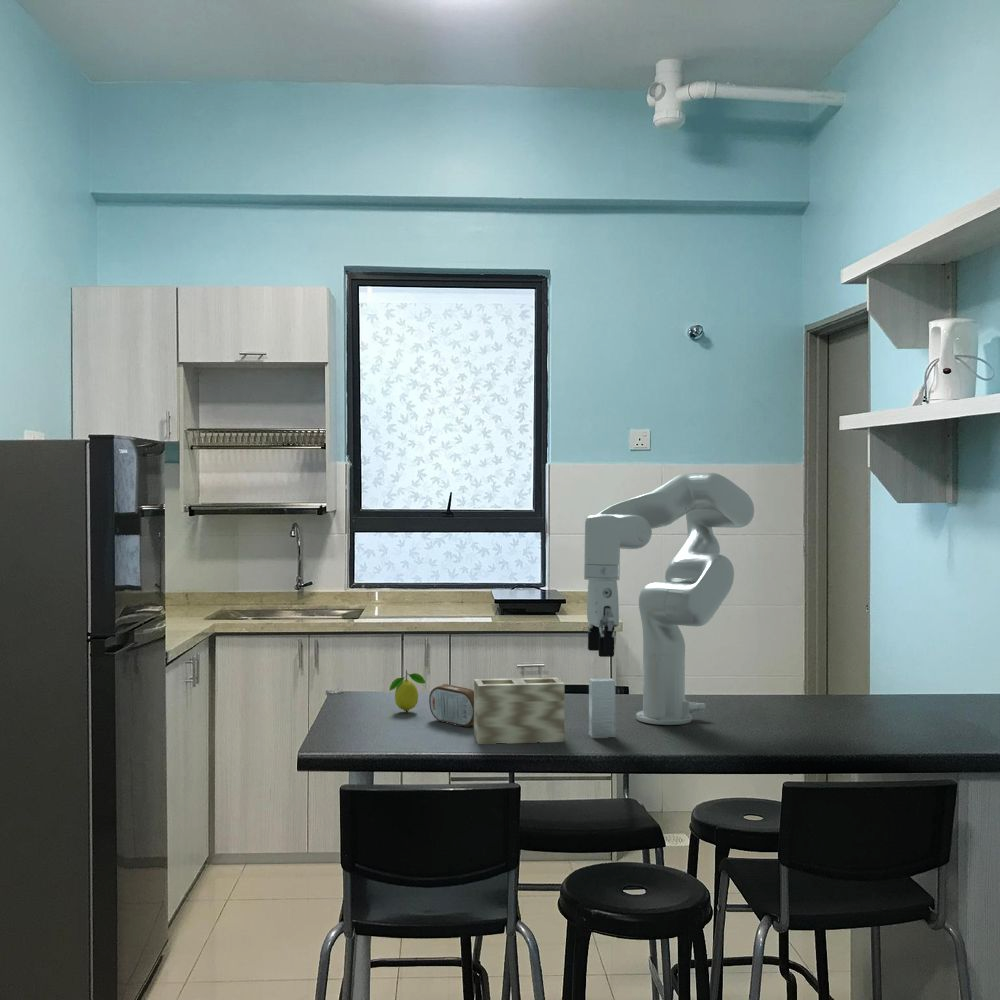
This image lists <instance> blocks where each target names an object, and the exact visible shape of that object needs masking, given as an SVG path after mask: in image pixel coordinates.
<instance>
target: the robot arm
mask: <svg viewBox="0 0 1000 1000" xmlns="http://www.w3.org/2000/svg"><path fill="white" fill-rule="evenodd" d="M754 515H755V505H754V502H753V499H752V498H751V496H750V495H749V494H748V493H747V492H746V491H744V489H742V488H741V487H739V486H738V485H737V484H736V483H734V482H733V481H731V480H730V479H728V478H727V477H725V476H724V475H721V474H720V473H715V472H702V473H701V472H700V473H699V472H698V473H697V472H693V473H688V472H687V473H681V474H678V475H677V476H675V477H673V478H672V479H670V480H669V481H668V482H665V483H664V484H663V485H661V486H659V487H657V488H656V489H654V490H652V491H650V492H648V493H645V494H642V495H638V496H636V497H632V498H630V499H626V500H623V501H620V502H617V503H615V504H612V505H610V506H608V507H607V508H605V509H604V510H601V511H600V512H598V513H597V514H592V515H588V516H587V517H585V518H586V519H585V522H584V570H583V572H584V573H583V574H584V575H583V576H584V577H583V580H586V581H587V580H588V582H587V583H588V584H587V599H586V600H587V601H586V602H587V603H586V616H587V617H586V618H587V622H588V627H587V628H588V629H587V650H589V651H597V652H598V657H600V658H610V657H611V658H613V657H614V656H615V628H618V626H619V625H620V613H619V609H620V608H619V606H620V605H619V589H618V587H619V586H618V581H620V579H621V578H620V576H621V574H620V572H621V571H620V569H621V568H620V567H621V565H620V564H621V558H620V556H621V550H638V549H639V550H640V549H642V548H644V547H645V546H646V545H648V543H649V542H650V541H651V539H652V535H653V529H654V530H655V529H657V528H659V529H660V528H663V527H667V526H669V525H671V524H672V523H674V522H675V521H678V520H679V519H680V518H681V517H683V516H685V518H686V519H685V520H686V527H687V538H686V539H685V542H684V543H683V545H681V547H680V549H679V550H678V552H677V553H676V554H675V555H674V557H673V558H672V559H671V560H670V562H669V564H668V565H667V567H666V570H665V576H664V578H665V581H655V582H650V583H648V584H646V585H645V586H644V587H643V588H642V589H641V591H640V593H639V596H638V608H639V609H638V610H639V614H640V619H641V620H640V621H641V626H642V641H643V643H642V644H643V645H642V646H643V647H642V648H643V650H642V693H643V694H642V710H640V711H638V712H636V714H635V719H636V720H637V721H639V722H642V723H646V724H651V725H657V726H658V725H660V726H675V725H676V726H677V725H686V724H689V723H691V722H692V720H693V719H692V718H693V716H692V714H693V712H697V713H699V712H700V713H701V712H706V711H707V707H706V706H707V705H706V703H705V702H696V701H695V702H693V701H692V702H691V701H689V700H687V699H686V695H685V694H686V643H685V638H684V635H683V633H682V631H681V630H680V627H679V626H685V627H702V626H705V625H707V624H708V623H709V622H710V620H711V619H712V618H713V617H714V615H715V614H716V613H717V611H718V610H719V608H720V607H721V605H722V604H723V602H724V601H725V599H726V598H727V596H728V595H729V593H730V592H731V590H732V587H733V584H734V580H735V579H734V577H735V569H734V566H733V563H732V561H731V560H730V559H729V558H728V557H727V556H726V555H723V554H720V553H721V549H720V548H721V547H720V542H719V541H718V539H717V538H716V536H715V534H714V531H713V528H732V529H735V528H737V529H738V528H744V527H746V526H748V525H749V524H751V522H752V521H753V518H754V517H755V516H754Z"/></svg>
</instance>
